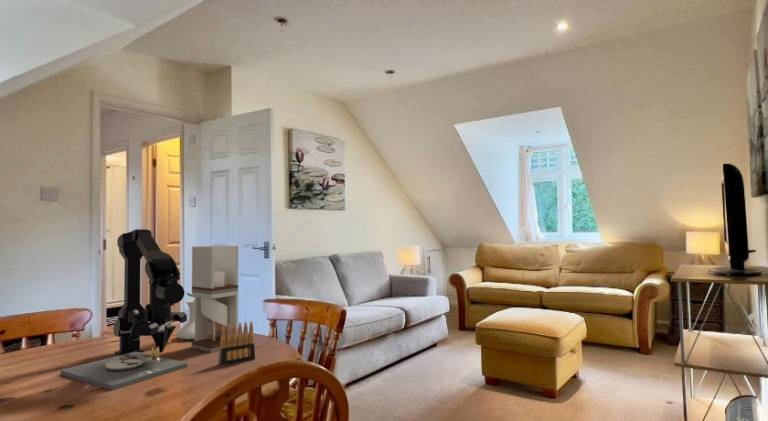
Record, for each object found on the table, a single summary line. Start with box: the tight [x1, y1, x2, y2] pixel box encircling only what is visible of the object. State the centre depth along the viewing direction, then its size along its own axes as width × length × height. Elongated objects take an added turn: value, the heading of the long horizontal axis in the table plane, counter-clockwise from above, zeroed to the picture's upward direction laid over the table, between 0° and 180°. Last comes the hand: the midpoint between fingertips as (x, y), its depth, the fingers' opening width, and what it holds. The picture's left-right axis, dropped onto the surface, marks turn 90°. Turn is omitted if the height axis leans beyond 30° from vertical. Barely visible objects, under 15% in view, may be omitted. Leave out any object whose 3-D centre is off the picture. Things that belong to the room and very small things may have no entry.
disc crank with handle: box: [105, 345, 160, 371], centre depth 133 cm, size 15×10×6 cm, turn 87°
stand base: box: [60, 352, 188, 391], centre depth 133 cm, size 26×22×1 cm
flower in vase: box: [175, 292, 195, 340], centre depth 172 cm, size 13×11×25 cm
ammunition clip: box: [218, 320, 256, 366], centre depth 141 cm, size 11×2×12 cm, turn 127°
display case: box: [191, 244, 239, 353], centre depth 160 cm, size 11×11×35 cm
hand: (160, 352), depth 135 cm, fingers closed
